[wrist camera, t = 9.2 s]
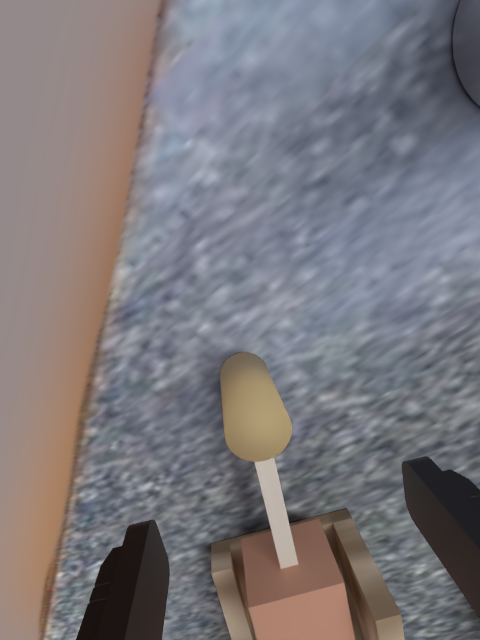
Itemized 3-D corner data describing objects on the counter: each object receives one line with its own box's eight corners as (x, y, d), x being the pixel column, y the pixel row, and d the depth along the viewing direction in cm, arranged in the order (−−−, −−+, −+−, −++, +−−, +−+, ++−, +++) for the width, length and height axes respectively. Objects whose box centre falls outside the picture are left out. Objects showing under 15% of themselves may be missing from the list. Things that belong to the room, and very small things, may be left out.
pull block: (193, 363, 23) (187, 416, 16) (283, 342, 23) (314, 385, 16) (257, 597, 27) (273, 715, 21) (330, 577, 28) (370, 688, 21)
